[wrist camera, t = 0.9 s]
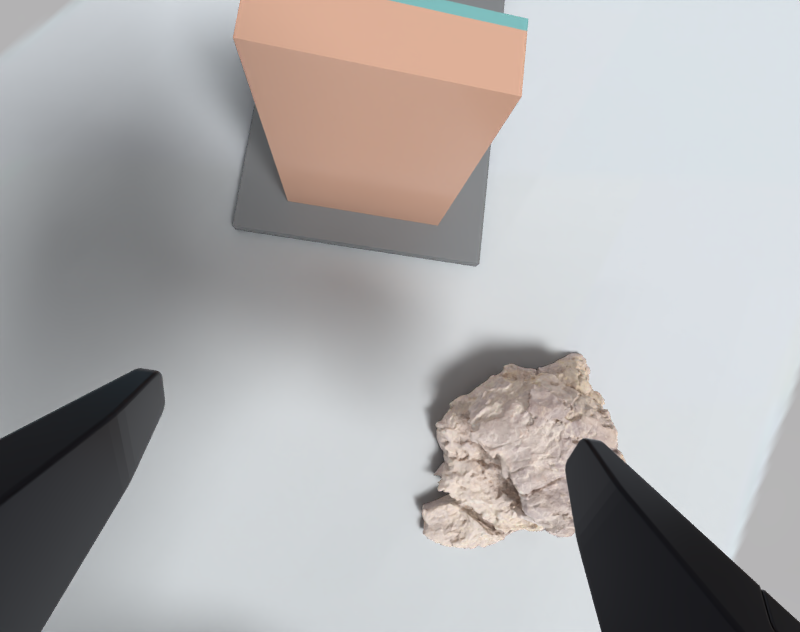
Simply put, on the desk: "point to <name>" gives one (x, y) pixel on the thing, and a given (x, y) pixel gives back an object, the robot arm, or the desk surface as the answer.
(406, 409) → the desk surface
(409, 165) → the tile
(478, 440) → the rock
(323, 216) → the mat
